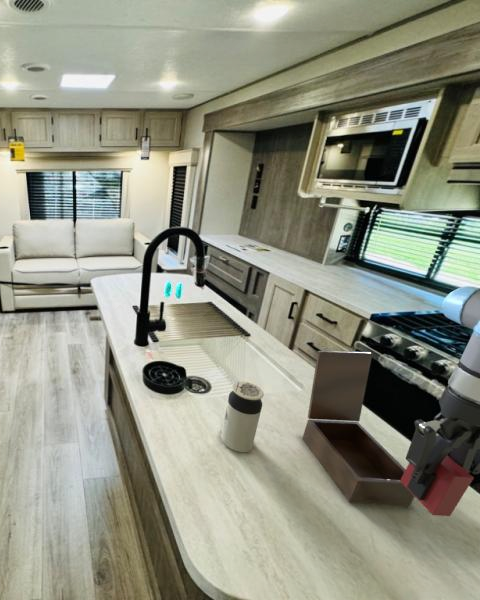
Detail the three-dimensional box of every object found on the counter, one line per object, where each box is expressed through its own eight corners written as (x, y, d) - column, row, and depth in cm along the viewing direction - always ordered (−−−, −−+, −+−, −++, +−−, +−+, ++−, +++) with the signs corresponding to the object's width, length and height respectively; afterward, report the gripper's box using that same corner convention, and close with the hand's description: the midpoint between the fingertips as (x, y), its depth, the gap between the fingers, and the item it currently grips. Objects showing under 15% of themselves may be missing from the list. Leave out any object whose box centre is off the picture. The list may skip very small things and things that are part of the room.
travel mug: (255, 440, 88) (268, 388, 82) (247, 458, 83) (260, 403, 76) (226, 426, 93) (236, 376, 87) (216, 442, 88) (226, 390, 81)
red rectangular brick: (415, 482, 64) (435, 445, 60) (450, 516, 57) (474, 477, 54) (399, 481, 64) (418, 444, 60) (432, 515, 58) (455, 476, 54)
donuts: (165, 294, 199) (166, 279, 196) (181, 295, 196) (183, 280, 192) (163, 299, 191) (164, 284, 187) (180, 301, 187) (182, 285, 184)
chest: (409, 506, 70) (421, 484, 68) (348, 502, 71) (358, 480, 69) (350, 441, 87) (357, 421, 85) (302, 438, 89) (308, 419, 86)
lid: (372, 353, 80) (355, 345, 86) (319, 351, 82) (306, 344, 87) (359, 421, 84) (343, 409, 90) (309, 419, 86) (296, 407, 91)
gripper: (449, 408, 49) (396, 510, 58) (566, 414, 47) (493, 517, 56) (407, 380, 56) (366, 474, 65) (507, 383, 54) (451, 479, 63)
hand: (425, 493), depth 60 cm, fingers closed on red rectangular brick, 3 cm apart
